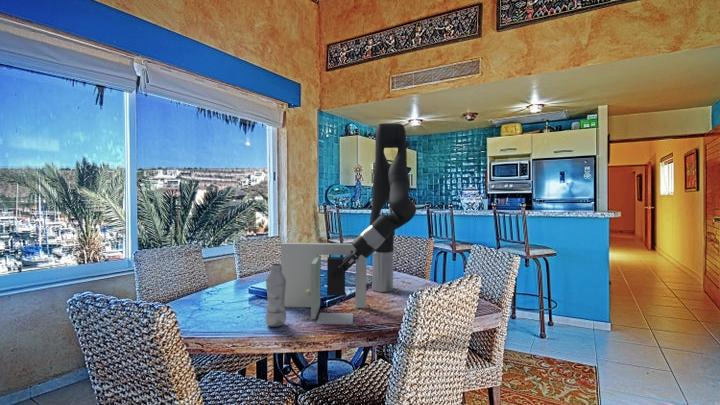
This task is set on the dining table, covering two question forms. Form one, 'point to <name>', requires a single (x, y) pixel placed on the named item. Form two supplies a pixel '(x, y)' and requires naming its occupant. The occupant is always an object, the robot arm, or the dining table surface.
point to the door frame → (317, 278)
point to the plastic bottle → (276, 296)
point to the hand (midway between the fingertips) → (333, 276)
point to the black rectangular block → (335, 284)
